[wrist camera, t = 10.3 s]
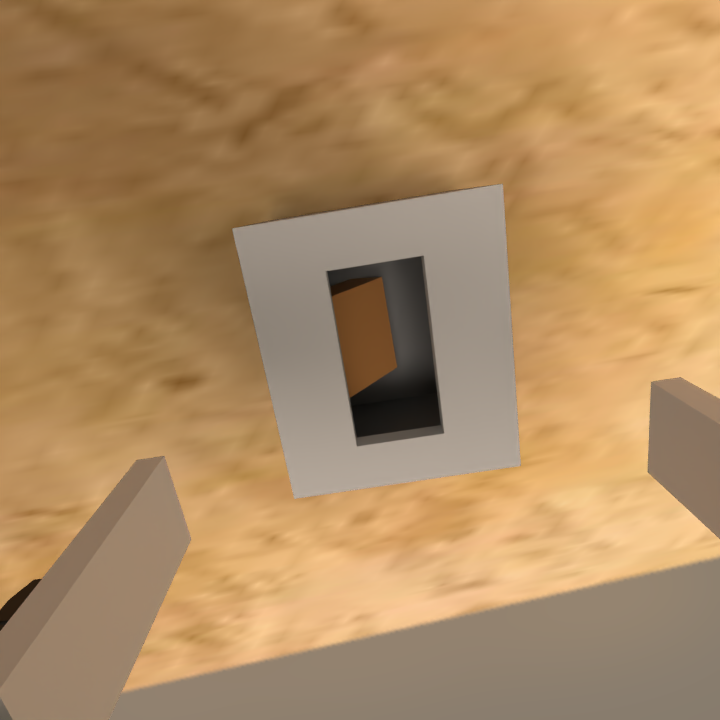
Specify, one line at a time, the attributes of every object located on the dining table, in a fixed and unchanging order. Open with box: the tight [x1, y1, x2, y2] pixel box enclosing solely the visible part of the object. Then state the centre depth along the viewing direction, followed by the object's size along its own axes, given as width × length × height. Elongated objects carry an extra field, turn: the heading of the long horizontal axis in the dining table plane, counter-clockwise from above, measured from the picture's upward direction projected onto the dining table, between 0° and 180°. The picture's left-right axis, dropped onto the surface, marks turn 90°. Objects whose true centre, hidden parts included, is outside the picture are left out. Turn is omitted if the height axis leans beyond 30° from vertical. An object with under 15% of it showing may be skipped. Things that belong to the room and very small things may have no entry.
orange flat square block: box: [330, 277, 397, 397], centre depth 30 cm, size 6×2×6 cm
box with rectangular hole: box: [232, 184, 521, 499], centre depth 28 cm, size 14×12×10 cm
